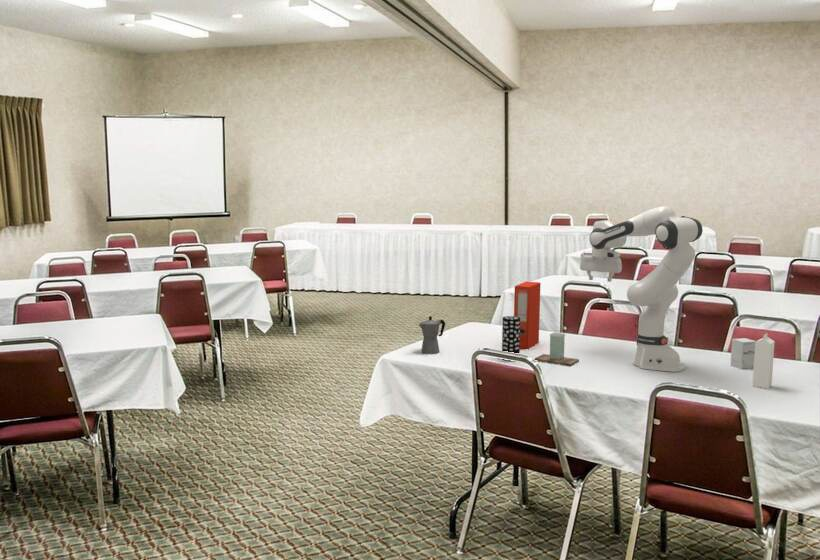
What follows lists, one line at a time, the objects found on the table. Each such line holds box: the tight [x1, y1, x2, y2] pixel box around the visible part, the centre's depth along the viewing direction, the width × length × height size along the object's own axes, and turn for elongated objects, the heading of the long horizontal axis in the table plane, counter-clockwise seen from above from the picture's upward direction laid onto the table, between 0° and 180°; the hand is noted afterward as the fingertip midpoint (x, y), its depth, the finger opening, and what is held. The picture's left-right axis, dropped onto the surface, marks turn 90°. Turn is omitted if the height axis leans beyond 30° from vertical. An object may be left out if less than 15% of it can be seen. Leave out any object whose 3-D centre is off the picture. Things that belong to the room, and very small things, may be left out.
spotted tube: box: [501, 315, 521, 362], centre depth 350 cm, size 8×8×20 cm
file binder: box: [513, 281, 541, 350], centre depth 376 cm, size 8×17×32 cm, turn 152°
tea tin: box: [549, 331, 566, 361], centre depth 345 cm, size 5×5×12 cm
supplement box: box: [730, 337, 757, 370], centre depth 334 cm, size 7×7×13 cm
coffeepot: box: [418, 316, 446, 355], centre depth 365 cm, size 15×9×18 cm, turn 121°
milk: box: [752, 332, 776, 389], centre depth 303 cm, size 6×6×22 cm
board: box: [534, 353, 580, 367], centre depth 346 cm, size 18×10×1 cm, turn 55°
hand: (600, 280), depth 362 cm, fingers open, 8 cm apart
